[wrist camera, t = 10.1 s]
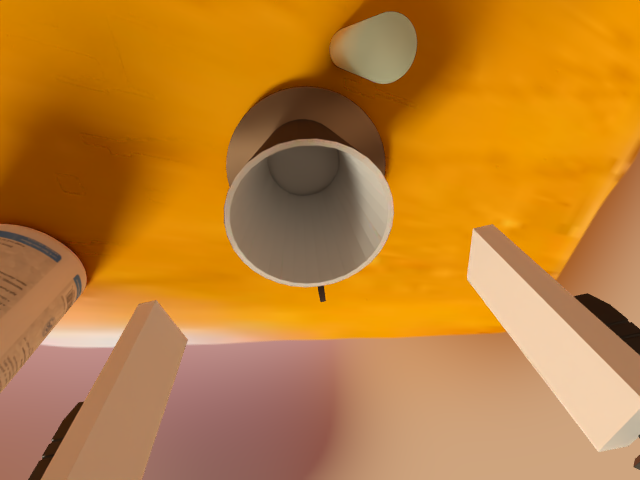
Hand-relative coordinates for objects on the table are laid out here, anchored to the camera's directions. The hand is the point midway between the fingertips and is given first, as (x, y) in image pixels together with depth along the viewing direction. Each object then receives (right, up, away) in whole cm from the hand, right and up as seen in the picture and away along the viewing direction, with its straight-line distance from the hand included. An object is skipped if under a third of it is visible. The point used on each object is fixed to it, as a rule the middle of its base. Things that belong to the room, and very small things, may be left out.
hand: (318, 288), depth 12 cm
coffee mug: (-2, +7, +12) cm, 14 cm away
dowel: (+2, +15, +8) cm, 17 cm away
